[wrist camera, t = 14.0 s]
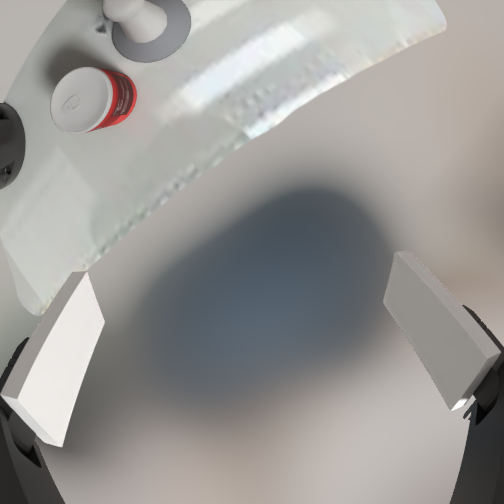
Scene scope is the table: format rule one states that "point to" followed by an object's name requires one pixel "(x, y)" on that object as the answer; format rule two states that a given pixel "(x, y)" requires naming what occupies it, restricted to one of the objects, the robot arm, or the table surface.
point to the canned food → (91, 100)
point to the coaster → (161, 45)
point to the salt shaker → (137, 18)
